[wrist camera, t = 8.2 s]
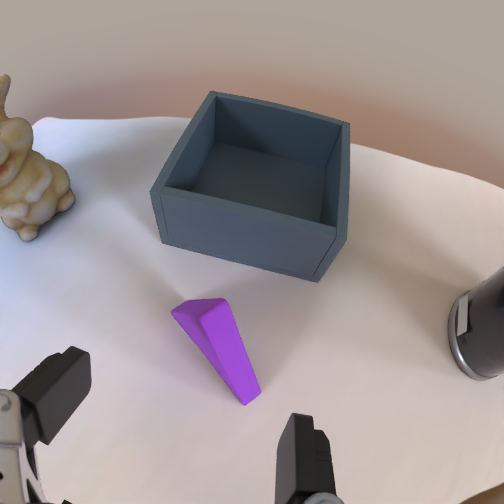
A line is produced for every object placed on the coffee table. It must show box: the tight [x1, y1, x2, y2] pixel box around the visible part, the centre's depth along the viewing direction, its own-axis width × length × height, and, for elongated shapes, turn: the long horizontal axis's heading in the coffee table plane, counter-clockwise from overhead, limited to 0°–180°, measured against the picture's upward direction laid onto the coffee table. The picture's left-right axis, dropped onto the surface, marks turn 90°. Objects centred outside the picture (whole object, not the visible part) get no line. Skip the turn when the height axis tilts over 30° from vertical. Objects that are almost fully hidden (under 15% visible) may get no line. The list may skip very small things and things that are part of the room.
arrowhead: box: [171, 298, 261, 405], centre depth 20 cm, size 10×2×10 cm
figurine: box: [0, 74, 75, 242], centre depth 20 cm, size 10×8×15 cm
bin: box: [150, 91, 350, 282], centre depth 27 cm, size 14×14×7 cm
